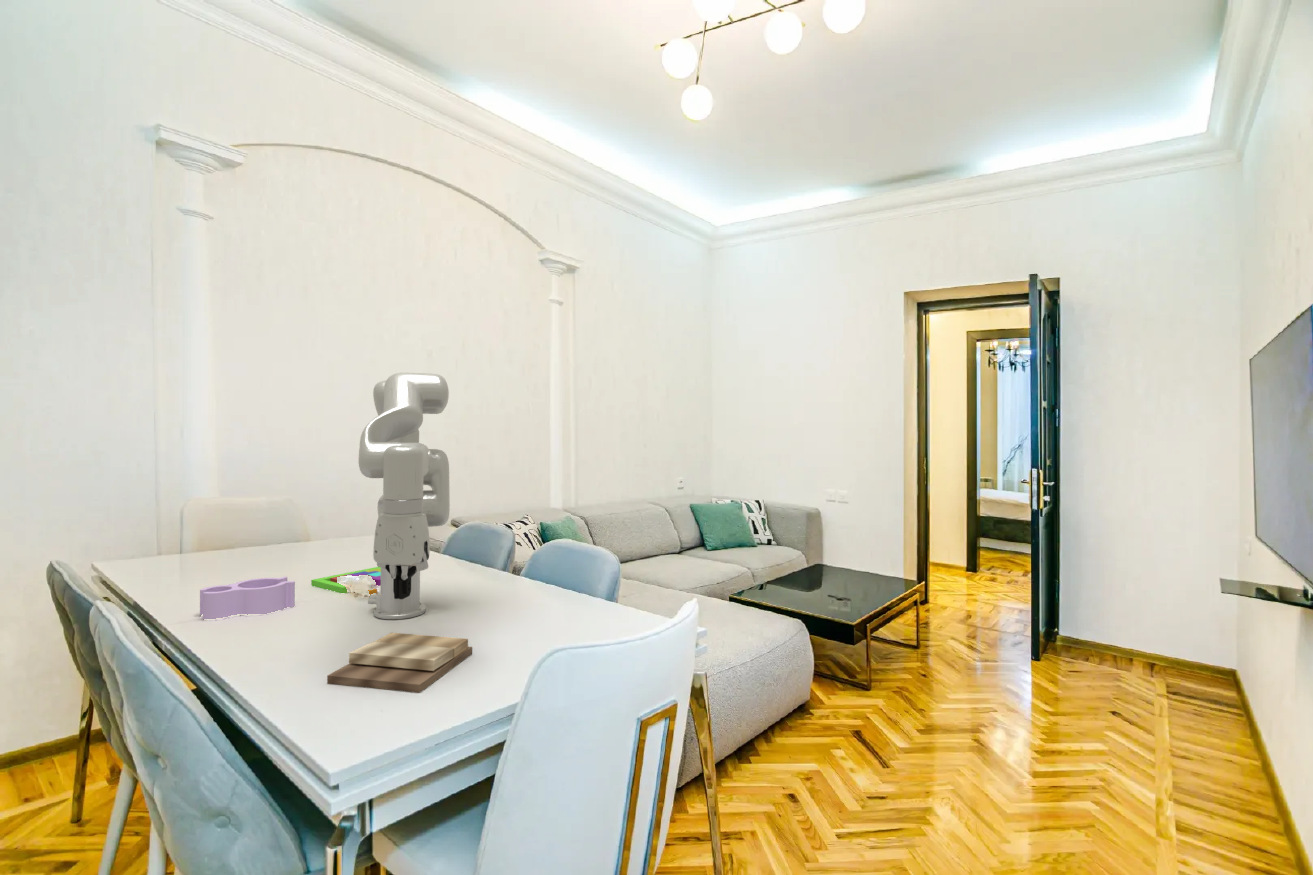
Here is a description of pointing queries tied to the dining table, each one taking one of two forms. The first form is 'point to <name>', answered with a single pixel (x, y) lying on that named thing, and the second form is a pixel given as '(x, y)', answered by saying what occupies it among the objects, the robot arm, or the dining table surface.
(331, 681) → the floor board
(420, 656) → the hinged plank
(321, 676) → the dining table surface
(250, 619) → the dining table surface
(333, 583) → the toy blocks
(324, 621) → the dining table surface
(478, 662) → the dining table surface
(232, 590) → the lilac rounded hollowed piece
